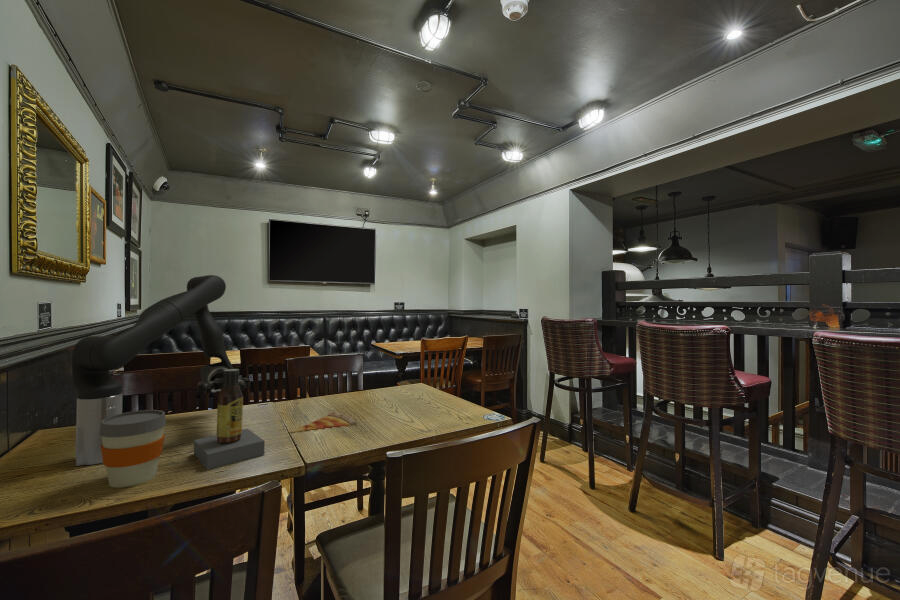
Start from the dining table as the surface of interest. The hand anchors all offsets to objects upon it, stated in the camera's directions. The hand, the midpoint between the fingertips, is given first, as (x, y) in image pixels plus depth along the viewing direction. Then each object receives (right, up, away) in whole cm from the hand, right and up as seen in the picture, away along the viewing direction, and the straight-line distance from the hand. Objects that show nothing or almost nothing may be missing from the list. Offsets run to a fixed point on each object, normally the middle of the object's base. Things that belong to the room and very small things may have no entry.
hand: (226, 389), depth 117 cm
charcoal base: (+6, -16, -8) cm, 19 cm away
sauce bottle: (+6, -13, -8) cm, 16 cm away
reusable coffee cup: (-9, -17, -23) cm, 30 cm away
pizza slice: (+22, -18, +21) cm, 35 cm away
